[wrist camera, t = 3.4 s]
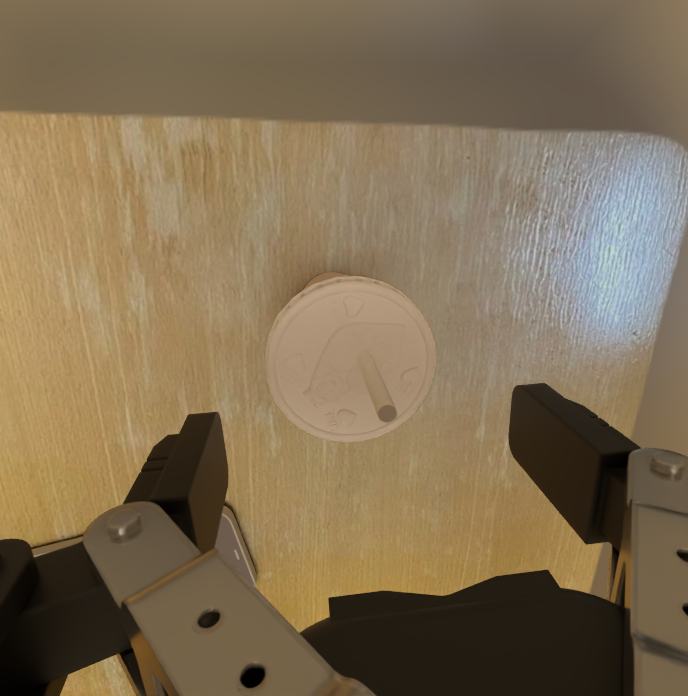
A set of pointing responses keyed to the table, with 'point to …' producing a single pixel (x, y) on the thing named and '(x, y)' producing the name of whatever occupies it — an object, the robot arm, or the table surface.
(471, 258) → the table surface
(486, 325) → the table surface
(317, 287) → the smoothie
